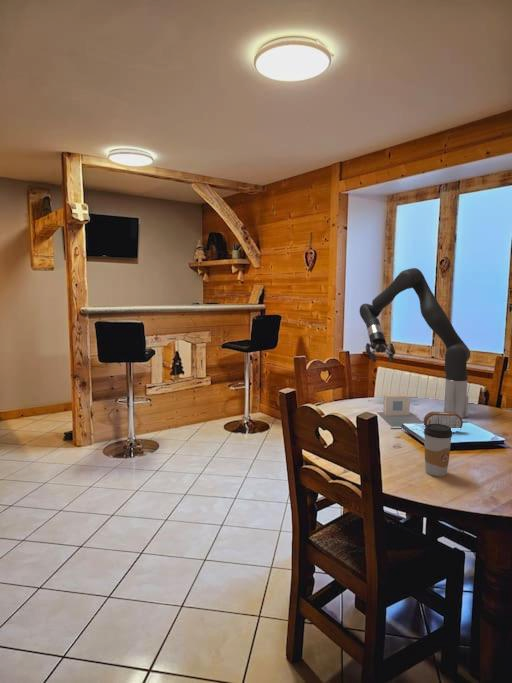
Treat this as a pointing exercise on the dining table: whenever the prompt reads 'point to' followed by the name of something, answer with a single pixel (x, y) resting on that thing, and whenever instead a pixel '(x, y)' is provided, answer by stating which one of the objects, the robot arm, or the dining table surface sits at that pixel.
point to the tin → (444, 419)
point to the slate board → (400, 419)
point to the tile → (396, 405)
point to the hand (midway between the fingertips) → (383, 361)
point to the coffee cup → (437, 449)
